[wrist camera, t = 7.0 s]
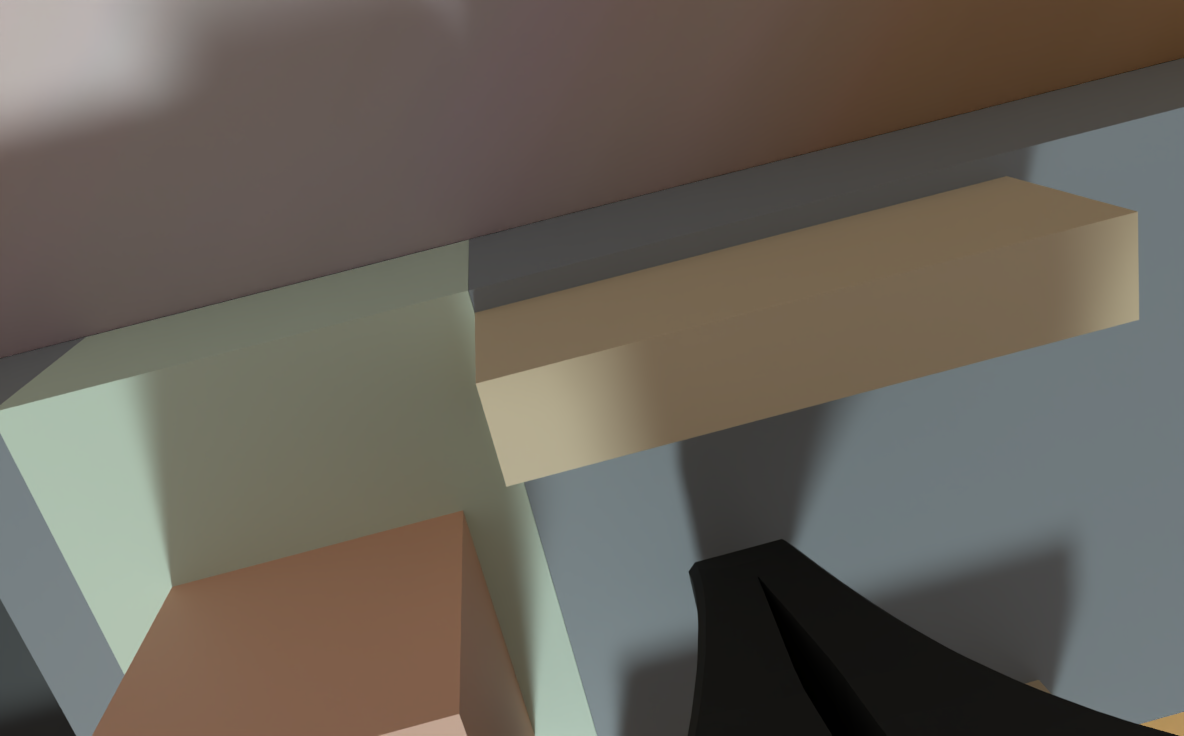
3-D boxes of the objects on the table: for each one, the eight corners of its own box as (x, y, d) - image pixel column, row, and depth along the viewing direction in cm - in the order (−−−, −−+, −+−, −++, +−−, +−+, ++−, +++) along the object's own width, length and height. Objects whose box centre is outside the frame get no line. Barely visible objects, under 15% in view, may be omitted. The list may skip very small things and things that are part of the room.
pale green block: (468, 239, 14) (468, 290, 11) (609, 735, 18) (634, 864, 15) (85, 337, 14) (-10, 413, 11) (305, 817, 18) (274, 965, 15)
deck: (1262, 38, 15) (1684, 41, 10) (1244, 560, 18) (1544, 766, 13) (-376, 454, 14) (-875, 703, 9) (-58, 917, 17) (-279, 1287, 12)
